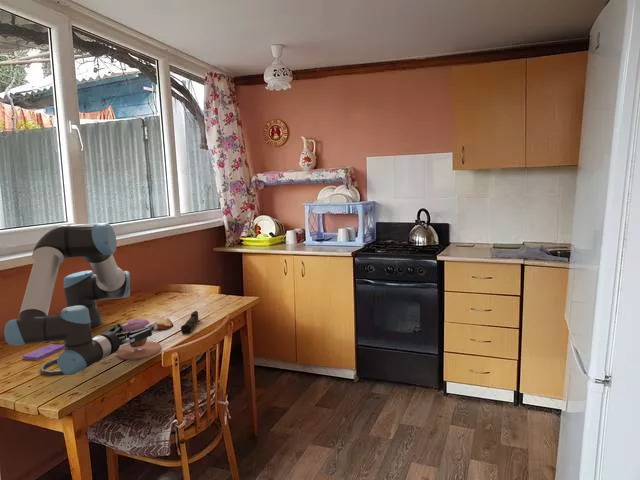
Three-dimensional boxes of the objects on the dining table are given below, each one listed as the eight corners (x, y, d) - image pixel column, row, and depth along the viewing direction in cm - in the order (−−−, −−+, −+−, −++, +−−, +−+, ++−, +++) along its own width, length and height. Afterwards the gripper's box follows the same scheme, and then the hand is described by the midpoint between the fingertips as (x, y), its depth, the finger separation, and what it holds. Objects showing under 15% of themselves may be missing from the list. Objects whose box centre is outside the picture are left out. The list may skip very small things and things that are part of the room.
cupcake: (129, 342, 172) (127, 316, 171) (154, 340, 174) (151, 314, 172) (123, 350, 164) (120, 323, 162) (148, 348, 165) (146, 321, 163)
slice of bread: (122, 326, 201) (121, 318, 200) (165, 318, 210) (164, 310, 210) (130, 337, 186) (129, 328, 185) (175, 328, 195) (175, 320, 195)
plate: (107, 356, 165) (107, 354, 165) (138, 342, 179) (138, 339, 179) (140, 362, 159) (140, 359, 159) (169, 346, 173) (169, 344, 173)
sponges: (22, 360, 166) (22, 355, 165) (51, 347, 178) (51, 343, 177) (38, 361, 164) (37, 356, 164) (66, 348, 176) (66, 344, 176)
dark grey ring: (32, 371, 154) (31, 368, 154) (67, 357, 166) (67, 354, 166) (60, 377, 149) (60, 373, 149) (94, 361, 161) (94, 358, 161)
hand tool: (190, 334, 187) (190, 323, 186) (181, 334, 187) (180, 323, 186) (203, 319, 206) (203, 309, 205) (194, 320, 206) (194, 309, 205)
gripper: (76, 354, 154) (121, 332, 175) (132, 359, 148) (171, 335, 170) (73, 333, 153) (119, 313, 174) (130, 336, 147) (170, 315, 169)
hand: (145, 324), depth 172 cm, fingers closed on cupcake, 9 cm apart
